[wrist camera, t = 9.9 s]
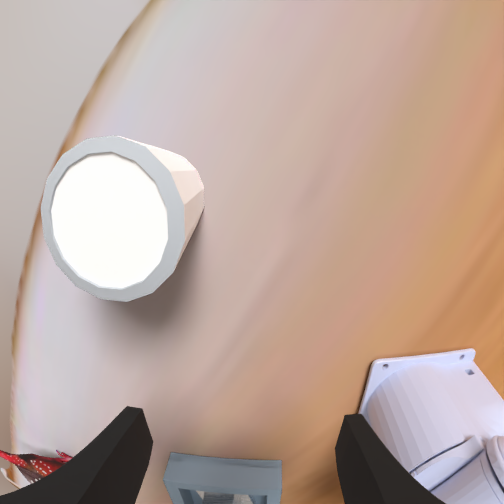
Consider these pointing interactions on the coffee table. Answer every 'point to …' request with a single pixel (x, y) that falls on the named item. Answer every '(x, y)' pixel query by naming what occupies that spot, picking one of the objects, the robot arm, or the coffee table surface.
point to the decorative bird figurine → (35, 464)
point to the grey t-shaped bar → (225, 498)
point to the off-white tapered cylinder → (120, 215)
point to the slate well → (222, 478)
